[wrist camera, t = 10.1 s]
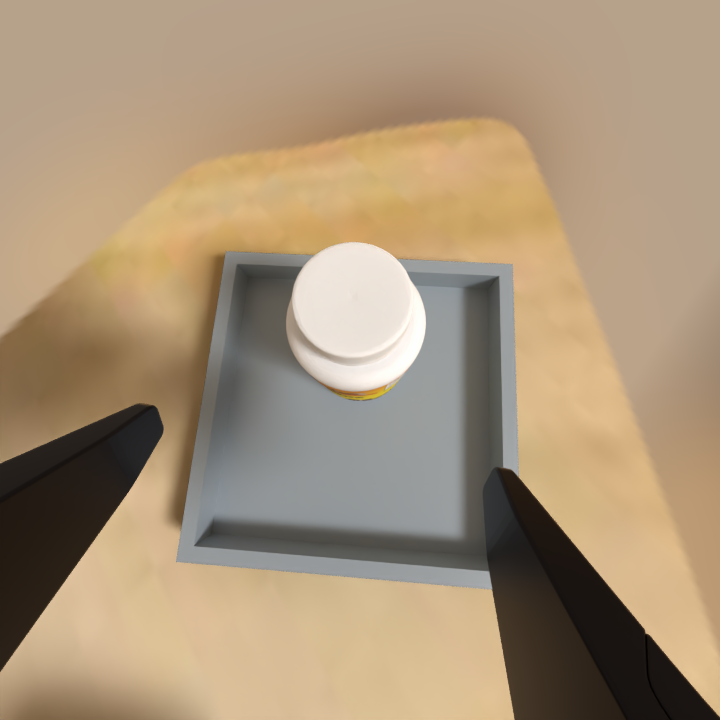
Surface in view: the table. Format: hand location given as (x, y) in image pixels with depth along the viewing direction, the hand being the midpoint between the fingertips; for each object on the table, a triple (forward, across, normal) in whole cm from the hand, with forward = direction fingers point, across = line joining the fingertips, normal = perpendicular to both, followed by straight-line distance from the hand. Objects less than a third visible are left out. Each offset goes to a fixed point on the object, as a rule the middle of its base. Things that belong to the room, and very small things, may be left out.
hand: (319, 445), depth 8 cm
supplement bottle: (+11, 0, +5) cm, 12 cm away
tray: (+10, 0, +7) cm, 12 cm away
